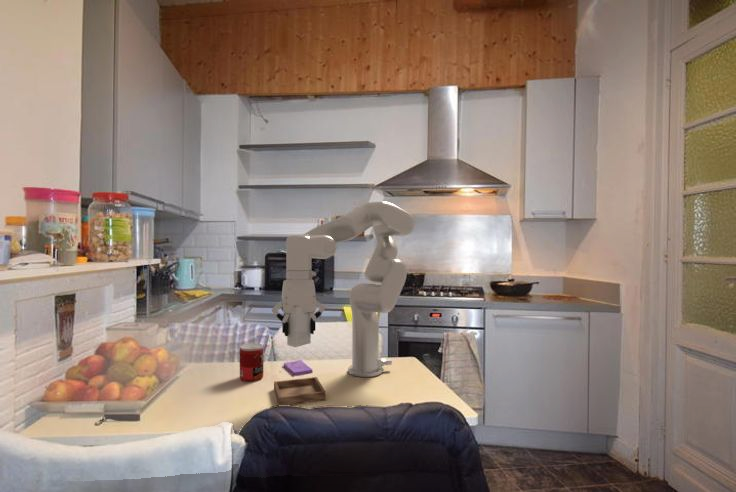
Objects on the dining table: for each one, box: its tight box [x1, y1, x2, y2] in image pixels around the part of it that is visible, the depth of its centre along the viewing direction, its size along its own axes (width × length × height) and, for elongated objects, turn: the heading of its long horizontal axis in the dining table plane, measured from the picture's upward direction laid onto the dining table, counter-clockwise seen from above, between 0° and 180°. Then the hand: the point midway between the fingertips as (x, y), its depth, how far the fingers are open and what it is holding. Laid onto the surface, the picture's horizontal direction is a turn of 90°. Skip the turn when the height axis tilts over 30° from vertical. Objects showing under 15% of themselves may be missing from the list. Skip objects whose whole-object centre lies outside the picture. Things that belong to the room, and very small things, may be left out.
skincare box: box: [286, 307, 312, 348], centre depth 121 cm, size 6×4×12 cm
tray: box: [273, 376, 327, 406], centre depth 122 cm, size 14×14×2 cm
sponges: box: [283, 359, 313, 377], centre depth 146 cm, size 7×13×2 cm, turn 29°
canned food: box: [239, 342, 265, 383], centre depth 136 cm, size 8×8×11 cm
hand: (299, 333), depth 121 cm, fingers closed on skincare box, 7 cm apart
